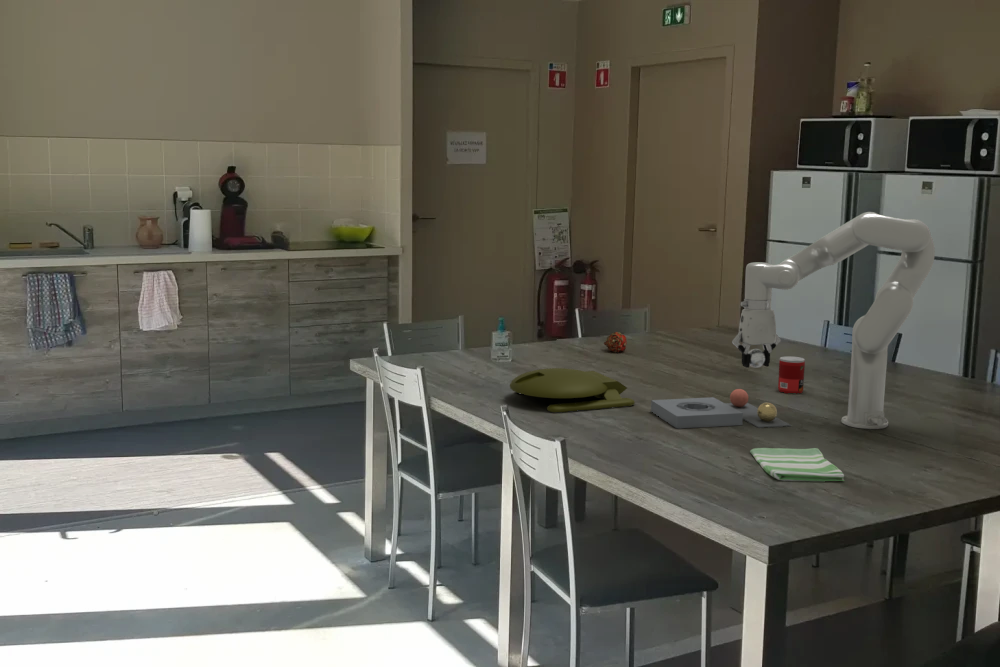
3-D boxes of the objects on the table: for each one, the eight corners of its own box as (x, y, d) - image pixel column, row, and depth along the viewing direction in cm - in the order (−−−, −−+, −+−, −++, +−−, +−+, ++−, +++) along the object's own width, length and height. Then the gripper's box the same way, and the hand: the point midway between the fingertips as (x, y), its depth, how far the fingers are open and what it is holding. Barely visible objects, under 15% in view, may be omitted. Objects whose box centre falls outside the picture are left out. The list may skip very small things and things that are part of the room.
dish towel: (819, 455, 261) (820, 445, 261) (847, 484, 238) (848, 473, 238) (749, 454, 262) (750, 444, 262) (770, 483, 239) (771, 471, 238)
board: (742, 424, 290) (742, 413, 289) (676, 428, 285) (677, 416, 285) (712, 408, 309) (713, 397, 308) (650, 411, 305) (651, 400, 304)
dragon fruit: (616, 358, 395) (611, 357, 407) (634, 345, 395) (628, 344, 407) (603, 340, 395) (599, 340, 407) (621, 327, 395) (616, 327, 407)
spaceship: (593, 386, 340) (593, 358, 338) (637, 407, 311) (638, 376, 310) (495, 395, 327) (495, 365, 326) (532, 417, 299) (533, 384, 297)
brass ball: (780, 423, 290) (781, 404, 289) (762, 424, 289) (763, 405, 288) (770, 418, 296) (771, 400, 295) (753, 419, 294) (754, 400, 293)
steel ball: (768, 368, 297) (769, 350, 296) (751, 369, 295) (751, 350, 294) (759, 365, 302) (760, 346, 301) (742, 366, 301) (743, 347, 300)
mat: (791, 426, 289) (791, 424, 289) (758, 427, 286) (758, 426, 286) (746, 403, 316) (746, 402, 316) (716, 405, 313) (716, 403, 313)
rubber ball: (751, 408, 308) (752, 390, 307) (734, 409, 306) (735, 391, 305) (743, 404, 313) (743, 386, 312) (726, 405, 312) (727, 387, 311)
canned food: (804, 394, 328) (806, 361, 327) (778, 393, 330) (780, 360, 328) (802, 389, 336) (804, 356, 334) (777, 388, 337) (778, 355, 336)
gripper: (736, 307, 290) (734, 370, 293) (791, 305, 294) (788, 367, 297) (724, 304, 297) (722, 365, 300) (778, 302, 301) (776, 362, 304)
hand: (755, 365), depth 298 cm, fingers closed on steel ball, 5 cm apart
